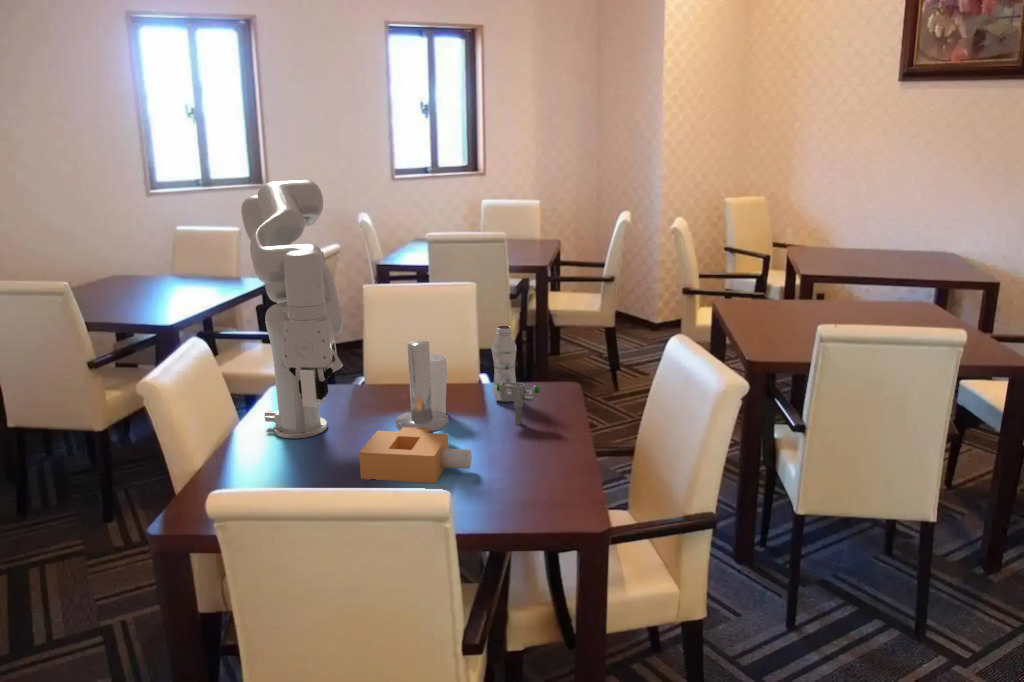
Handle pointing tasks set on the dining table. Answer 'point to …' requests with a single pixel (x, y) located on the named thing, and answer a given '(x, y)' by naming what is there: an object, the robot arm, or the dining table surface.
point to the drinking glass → (438, 381)
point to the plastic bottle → (503, 359)
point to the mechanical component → (517, 396)
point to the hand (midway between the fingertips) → (314, 396)
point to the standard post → (421, 392)
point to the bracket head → (410, 456)
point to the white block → (310, 387)
